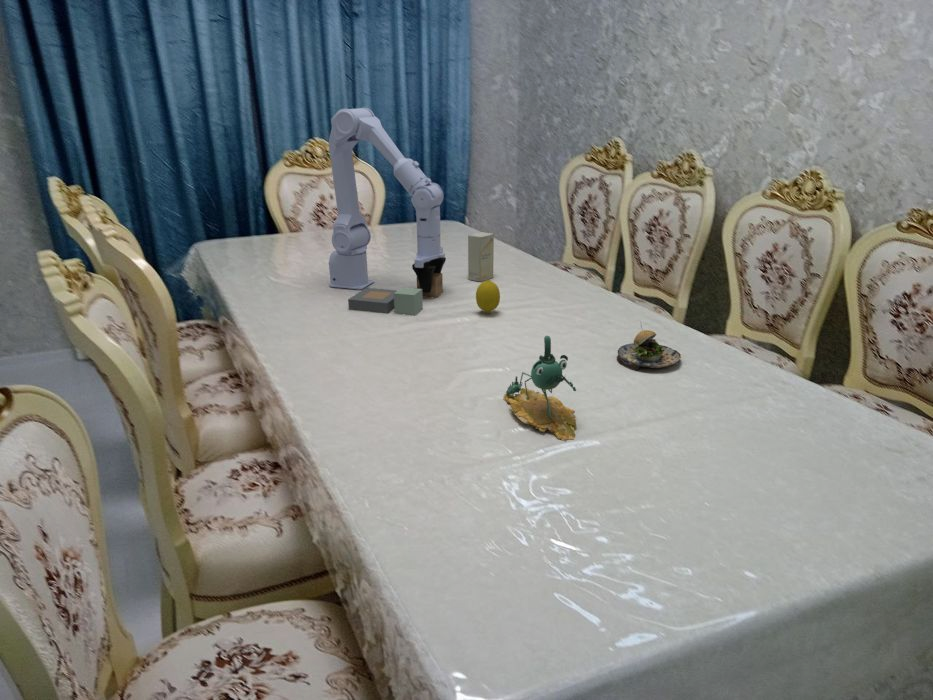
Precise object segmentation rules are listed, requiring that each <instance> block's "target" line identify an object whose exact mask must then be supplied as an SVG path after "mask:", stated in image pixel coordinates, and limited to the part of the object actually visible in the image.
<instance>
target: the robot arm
mask: <svg viewBox="0 0 933 700" xmlns="http://www.w3.org/2000/svg"><path fill="white" fill-rule="evenodd" d="M330 121H331V122H330V123H331V131H330V134H329V139H328V150H329V157H330V165H331V173H332V174H331V175H332V181H333V188H334V189H333V190H334V195H335V203H336V209H337V217H336V218H335V220H334V222H333V224H332V230H333V231H332V236H331V245H332V247H333V248H334V250H332V252H331V253H330V255H329V257H328V258H329V259H328V270H329V280H330V282H329V283H330V284H329V285H328V286H329V287H330V288H338V289H339V288H341V289H350V290H351V289H352V290H361V291H362V290H364V289H365V288H368V287H369V286H371V285H372V284H373V283H374V282H375V280H374V279H369V276H368V275H369V273H368V272H369V270H368V257H367V254H368V253H367V249H368V247H367V246H368V245H369V244H370V242H371V238H372V235H371V232H370V229H369V228H368V225H367V221H366V218H365V217H364V216H363V215H362V213H361V212H360V205H359V203H360V202H359V197H358V196H359V195H358V189H357V188H358V187H357V181H356V172H355V163H354V157H353V156H354V155H353V149H354V147H355V146H356V145H357V144H358V143H359V141H364V142H368V143H371V144H372V145H373V146H374V147H375V148H376V149H377V150H378V152H379V153H380V154H381V155H382V156H383V157H384V158H385V160H387V162H389V164H391V166H392V167H393V176H394V177H395V178H396V180H398V182H399V183H400V184H401V186H402V187H403V188H404V189H405V191H406V192H407V193H408V194H409V195H410V196H411V198H410V201H411V203H412V206H413V207H414V209H415V216H416V219H415V220H416V243H417V244H416V247H417V248H416V249H417V252H416V257H415V259H414V263H413V264H412V265H411V268H412V270H413V271H414V273H415V276H416V279H417V278H418V281H419V284H420V288H421V289H422V292H426V293H430V291H431V285H432V277H433V273H442V270H443V267H444V265H445V262H446V260H447V259H446V253H445V252H444V251H443V250H444V249H443V248H444V247H443V246H442V245H441V207H440V206H441V204H442V203H443V201H444V191H443V189H442V187H441V186H440V185H439V184H438V183H436V182H432V180H431V178H429V177H427V175H425V173H424V172H423V171H422V170H421V168H420V167H419V166H420V163H419V162H418V161H417V160H413V159H412V158H406V157H405V156H404V155H403V153H402V151H400V149H399V148H398V147H397V145H396V144H395V143H394V141H393V140H392V138H391V137H390V136H389V134H388V133H387V131H386V130H385V129H384V127H383V126H382V123H381V120H380V119H379V118H378V117H377V116H375V113H374V112H373V111H372V110H371V109H370V108H368V107H360V108H341V109H339V110H338V111H336V113H335V114H334V115H333V117H332V118H331V119H330Z"/></svg>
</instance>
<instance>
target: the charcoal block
mask: <svg viewBox="0 0 933 700" xmlns="http://www.w3.org/2000/svg"><path fill="white" fill-rule="evenodd" d="M398 290H399V289H398ZM398 290H395V289H385V288H375V287H365V288H364V289H361V291H359V292H358V293H356V294H354V295H353V296H350V298H348V299H347V303H348V310H349V311H356V312H357V311H358V312H367V313H378V314H386V315H387V314H389V313H391V312H392V311H395V308H394V293H395V292H396V291H398Z"/></svg>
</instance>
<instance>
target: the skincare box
mask: <svg viewBox="0 0 933 700" xmlns="http://www.w3.org/2000/svg"><path fill="white" fill-rule="evenodd" d="M494 235H495V234H494V233H491V232H484V231H480V232H476V233H473V234H472V233H471V234H468V236H467V241H468V243H467V244H468V246H467V248H468V250H467V252H468V253H467V255H468V256H467V257H468V258H467V264H468V265H467V269H468V273H467V274H468V275H467V278H468V280H470V281H473V282H481V283H482V282H485V281H486V280H490V279H492V278H494V244H495V243H494V239H495V238H494V237H495V236H494Z"/></svg>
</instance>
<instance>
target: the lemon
mask: <svg viewBox="0 0 933 700" xmlns="http://www.w3.org/2000/svg"><path fill="white" fill-rule="evenodd" d="M475 300H476V304H477V307H478V308H479V310H480V309H481V310H482V311H484V312H485V314H490V313H491V312H492V311H494V310H496V308H498V306H499V304H500V302H501V301H500V300H501V292H500V289H499V287H498V285H497V284H496V283H495V282H493V281H491V280H490V279H487V280H484V281H482V282H481V283H480V284H479V285H478V286H477V289H476V293H475Z"/></svg>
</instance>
